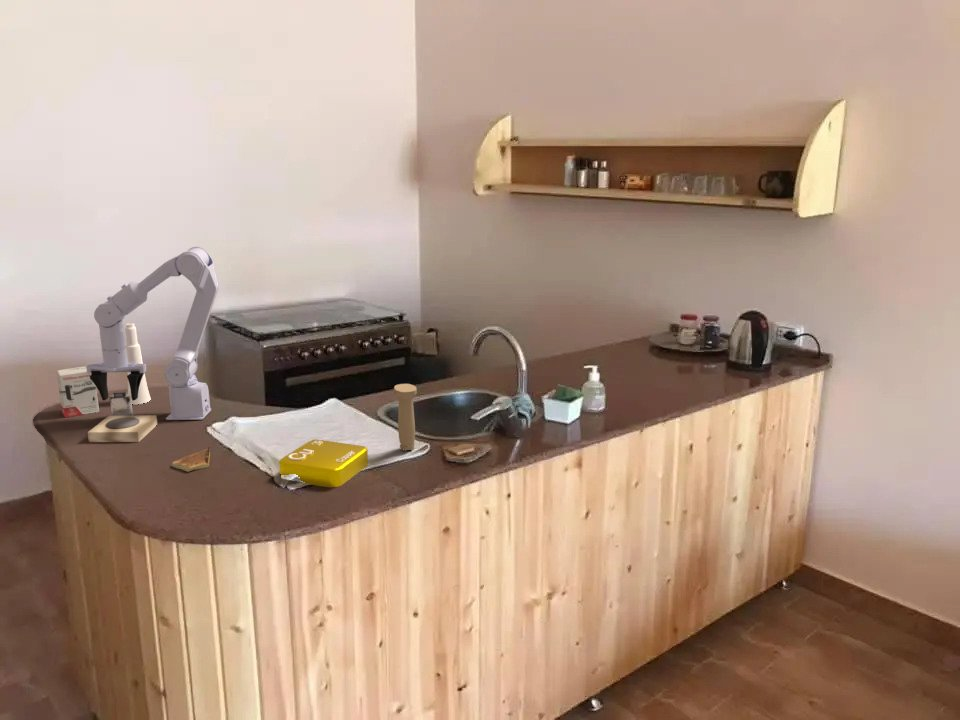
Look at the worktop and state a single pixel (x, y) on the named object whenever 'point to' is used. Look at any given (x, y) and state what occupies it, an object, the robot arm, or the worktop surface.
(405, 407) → the handle
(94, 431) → the stand
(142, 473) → the worktop surface
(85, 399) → the ink box
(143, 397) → the cosmetic bottle
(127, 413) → the cylinder
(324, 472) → the element tile
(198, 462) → the shard
